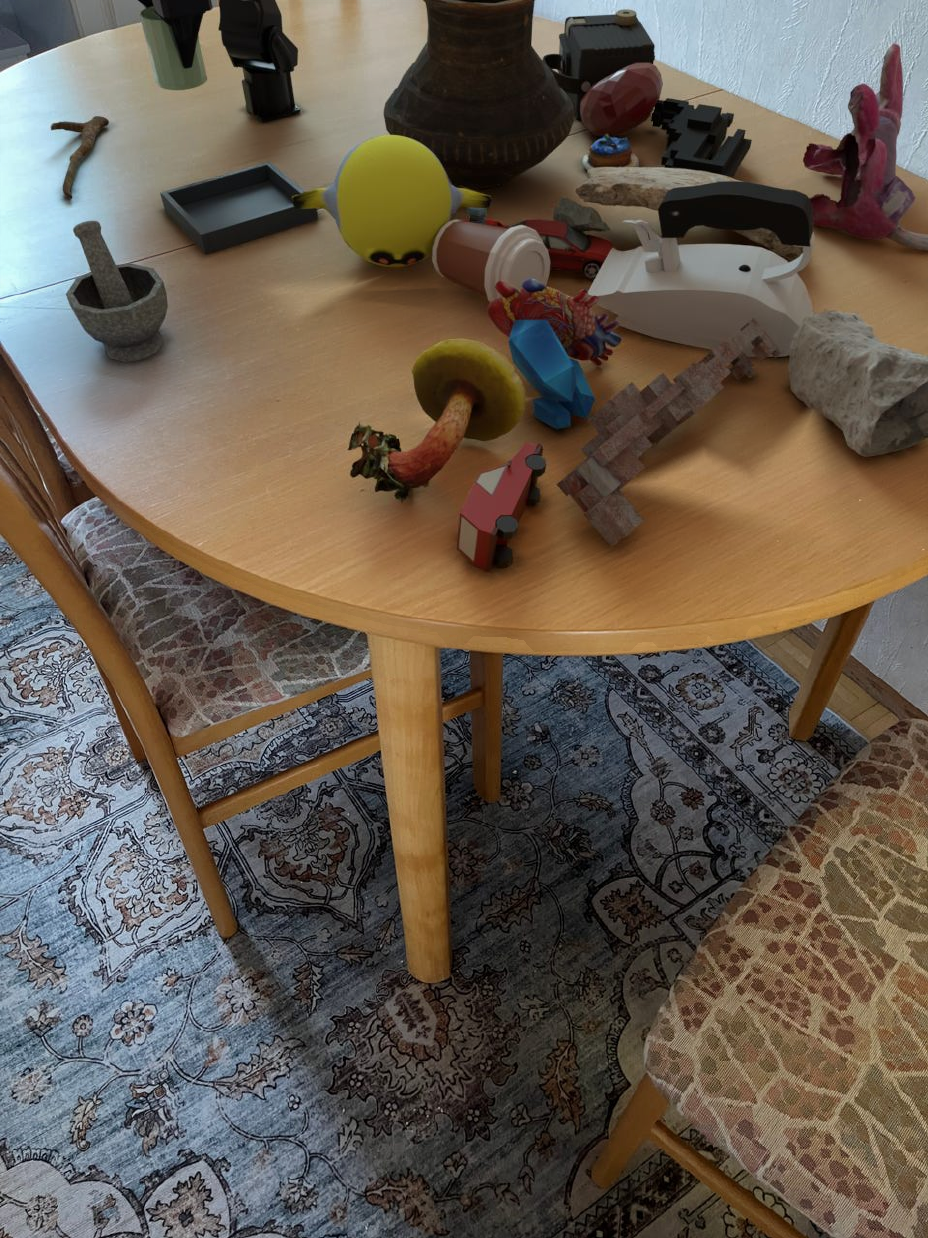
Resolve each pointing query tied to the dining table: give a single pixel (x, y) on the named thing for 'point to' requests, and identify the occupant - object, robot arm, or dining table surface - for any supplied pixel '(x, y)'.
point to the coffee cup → (490, 256)
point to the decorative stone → (860, 382)
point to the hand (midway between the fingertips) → (178, 59)
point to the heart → (621, 100)
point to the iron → (712, 268)
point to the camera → (597, 51)
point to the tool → (699, 137)
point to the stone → (579, 216)
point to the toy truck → (499, 508)
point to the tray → (236, 207)
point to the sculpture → (650, 429)
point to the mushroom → (444, 414)
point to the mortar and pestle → (117, 300)
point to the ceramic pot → (481, 93)
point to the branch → (88, 138)
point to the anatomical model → (557, 318)
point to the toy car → (569, 246)
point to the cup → (170, 56)
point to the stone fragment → (662, 194)
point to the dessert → (610, 154)
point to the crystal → (550, 373)
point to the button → (479, 216)
